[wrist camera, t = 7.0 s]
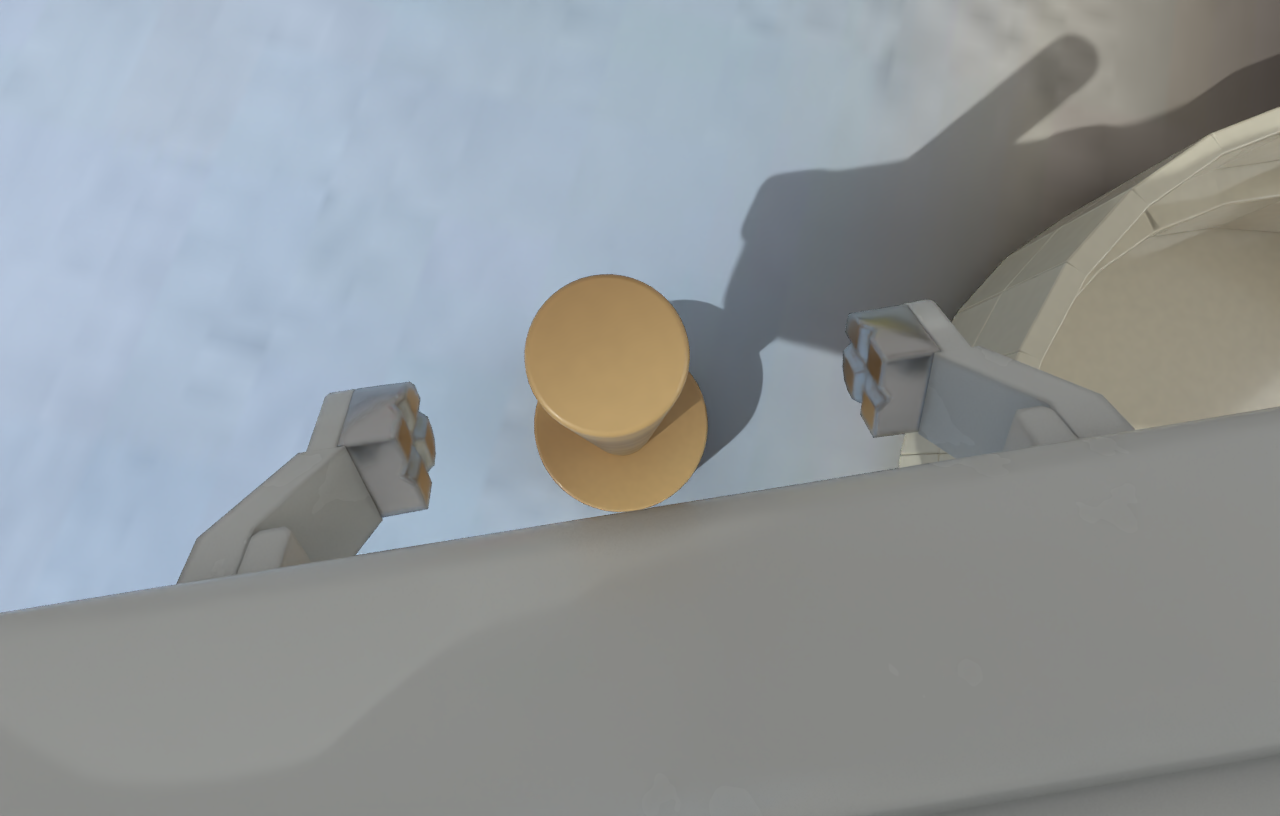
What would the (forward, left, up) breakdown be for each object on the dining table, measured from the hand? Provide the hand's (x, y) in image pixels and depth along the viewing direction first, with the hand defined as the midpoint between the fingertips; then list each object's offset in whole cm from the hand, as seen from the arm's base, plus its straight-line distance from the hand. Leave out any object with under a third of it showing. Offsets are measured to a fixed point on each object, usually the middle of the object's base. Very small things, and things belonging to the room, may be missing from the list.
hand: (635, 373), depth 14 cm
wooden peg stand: (0, +1, -9) cm, 9 cm away
